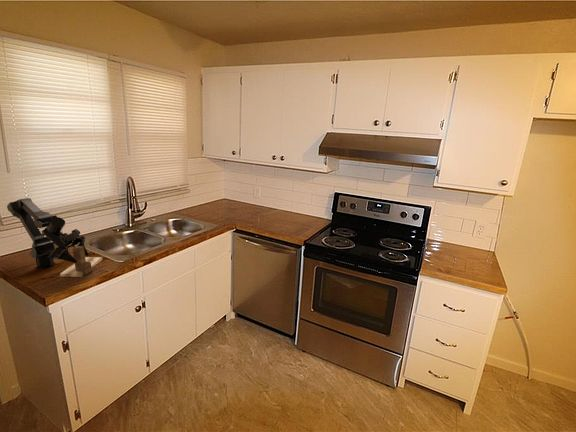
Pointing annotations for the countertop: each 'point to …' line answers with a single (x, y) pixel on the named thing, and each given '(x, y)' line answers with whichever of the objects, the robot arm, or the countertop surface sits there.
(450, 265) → the countertop surface
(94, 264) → the birch board
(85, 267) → the marking gauge
